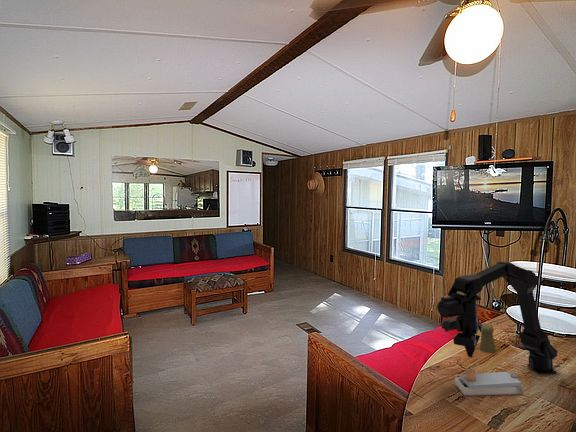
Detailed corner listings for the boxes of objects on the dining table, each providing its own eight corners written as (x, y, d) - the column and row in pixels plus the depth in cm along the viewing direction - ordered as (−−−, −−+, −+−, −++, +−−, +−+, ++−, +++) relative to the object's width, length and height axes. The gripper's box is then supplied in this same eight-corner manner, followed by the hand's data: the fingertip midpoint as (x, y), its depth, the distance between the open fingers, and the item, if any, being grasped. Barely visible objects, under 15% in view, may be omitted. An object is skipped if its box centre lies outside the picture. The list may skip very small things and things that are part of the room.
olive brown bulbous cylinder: (498, 353, 136) (497, 327, 136) (483, 352, 137) (481, 327, 137) (492, 347, 142) (491, 322, 142) (477, 346, 143) (476, 322, 143)
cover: (510, 375, 114) (509, 363, 114) (524, 385, 107) (523, 373, 107) (459, 378, 114) (459, 366, 114) (470, 388, 107) (469, 376, 107)
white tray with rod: (510, 382, 114) (509, 375, 114) (523, 394, 107) (522, 386, 107) (455, 384, 115) (454, 377, 115) (464, 395, 108) (464, 388, 108)
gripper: (448, 303, 125) (451, 342, 125) (436, 317, 110) (438, 361, 111) (481, 307, 118) (484, 348, 118) (472, 323, 103) (475, 370, 104)
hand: (470, 356), depth 113 cm, fingers closed
